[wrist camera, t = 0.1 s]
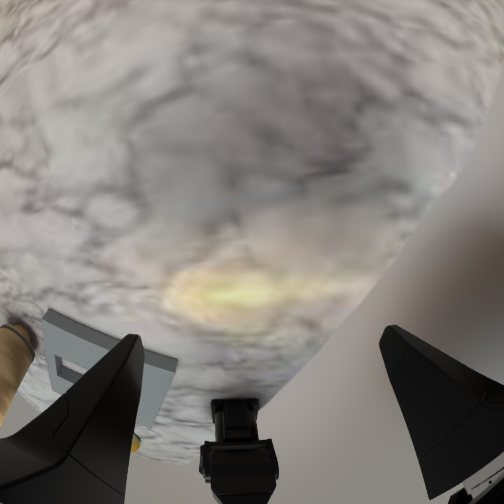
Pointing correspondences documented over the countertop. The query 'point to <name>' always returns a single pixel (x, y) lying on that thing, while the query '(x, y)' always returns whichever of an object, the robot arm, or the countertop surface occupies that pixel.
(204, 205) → the countertop surface
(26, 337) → the oak leg
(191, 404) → the countertop surface
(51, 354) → the slate board
